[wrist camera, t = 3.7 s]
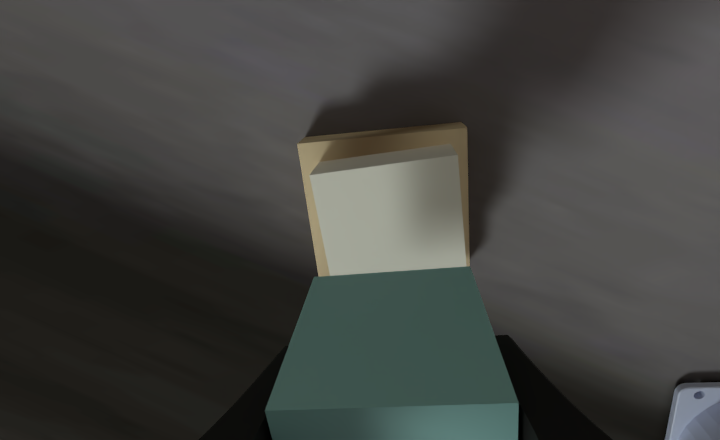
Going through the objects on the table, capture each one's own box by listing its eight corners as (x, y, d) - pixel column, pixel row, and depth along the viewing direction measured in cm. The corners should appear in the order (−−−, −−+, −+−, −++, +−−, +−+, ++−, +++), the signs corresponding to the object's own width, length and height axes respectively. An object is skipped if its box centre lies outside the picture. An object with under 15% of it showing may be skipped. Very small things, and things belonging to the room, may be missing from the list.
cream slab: (450, 143, 17) (457, 154, 15) (460, 263, 19) (468, 288, 17) (319, 161, 18) (309, 175, 16) (341, 275, 20) (335, 300, 18)
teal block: (469, 266, 12) (518, 402, 7) (473, 391, 13) (515, 569, 9) (313, 277, 12) (265, 410, 8) (335, 396, 14) (305, 566, 9)
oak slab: (459, 120, 19) (467, 127, 17) (463, 259, 21) (469, 281, 19) (307, 134, 20) (297, 143, 18) (327, 267, 22) (320, 289, 20)
